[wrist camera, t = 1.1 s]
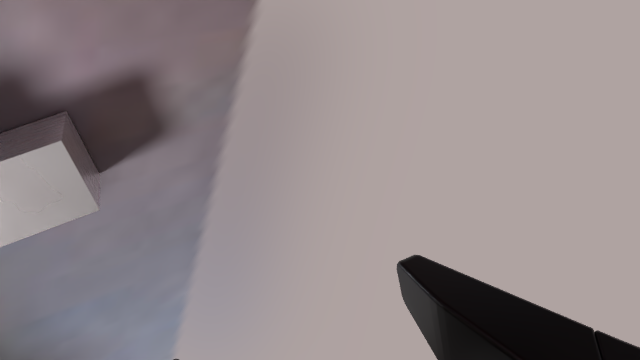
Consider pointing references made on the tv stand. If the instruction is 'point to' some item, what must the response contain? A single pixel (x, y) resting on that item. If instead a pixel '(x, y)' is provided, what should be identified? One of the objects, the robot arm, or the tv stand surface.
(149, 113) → the tv stand surface
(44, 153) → the grey rectangular block
